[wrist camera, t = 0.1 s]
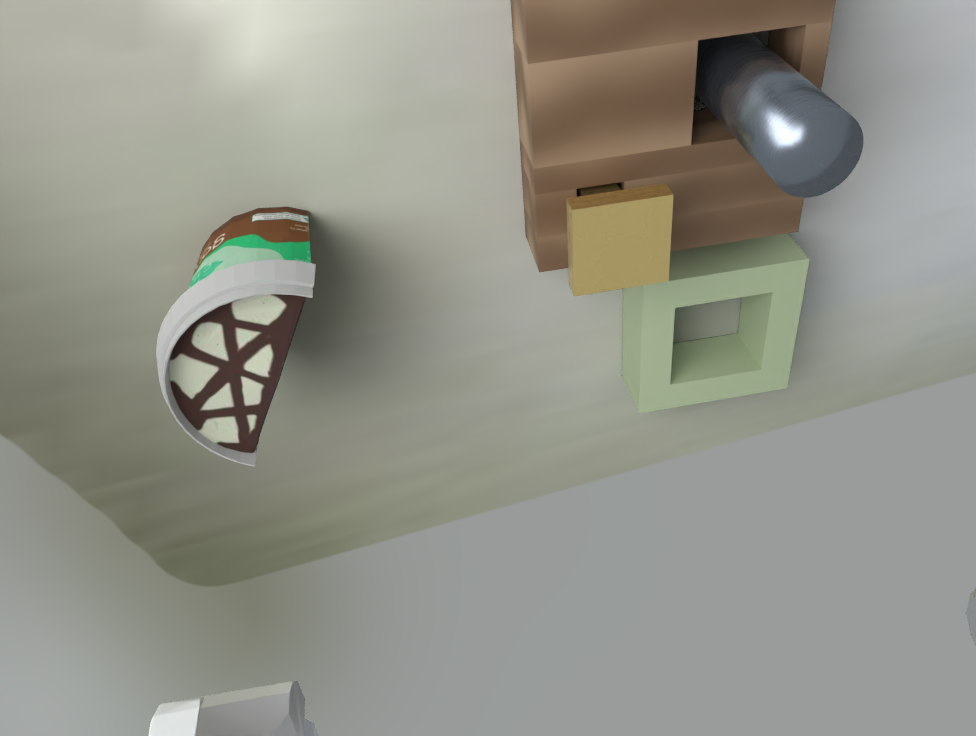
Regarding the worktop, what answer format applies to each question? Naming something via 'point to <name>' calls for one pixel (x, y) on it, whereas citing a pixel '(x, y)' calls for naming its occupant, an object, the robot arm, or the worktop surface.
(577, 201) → the yellow square block
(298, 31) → the worktop surface
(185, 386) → the food container
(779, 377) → the square ring
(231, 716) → the robot arm
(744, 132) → the peg
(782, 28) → the socket block
